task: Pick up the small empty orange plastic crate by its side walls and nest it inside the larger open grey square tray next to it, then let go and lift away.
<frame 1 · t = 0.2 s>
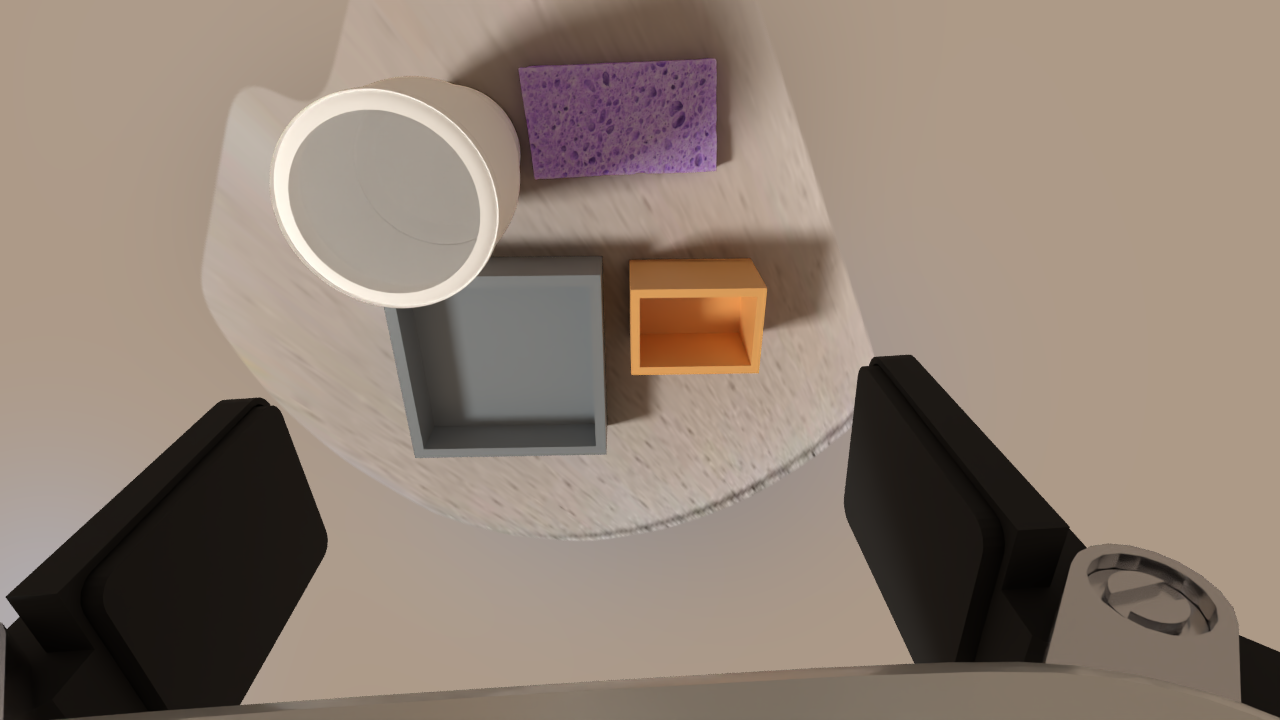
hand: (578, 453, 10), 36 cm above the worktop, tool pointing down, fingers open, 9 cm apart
jar: (458, 150, 43), on the worktop
small crate: (688, 299, 48), on the worktop
grey square tray: (509, 348, 50), on the worktop
sponges: (620, 117, 43), on the worktop
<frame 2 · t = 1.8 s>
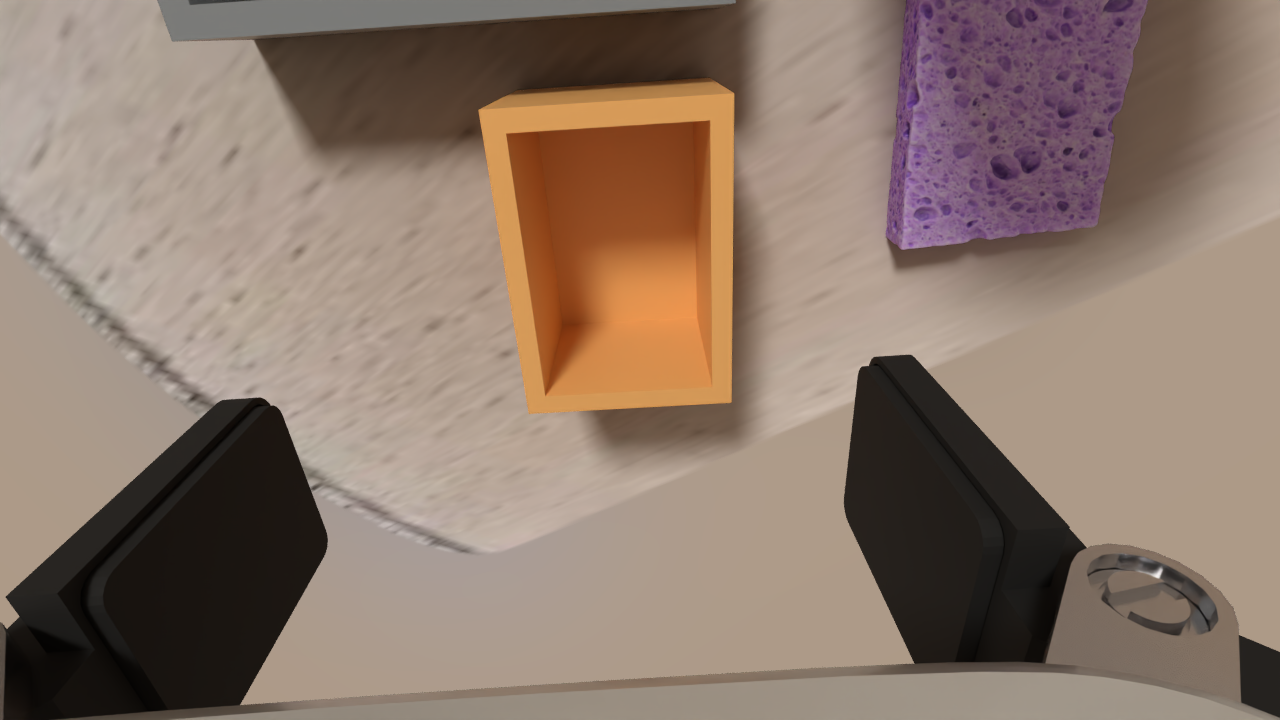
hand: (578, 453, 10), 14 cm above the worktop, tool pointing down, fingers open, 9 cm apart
small crate: (622, 217, 23), on the worktop
sponges: (996, 41, 21), on the worktop
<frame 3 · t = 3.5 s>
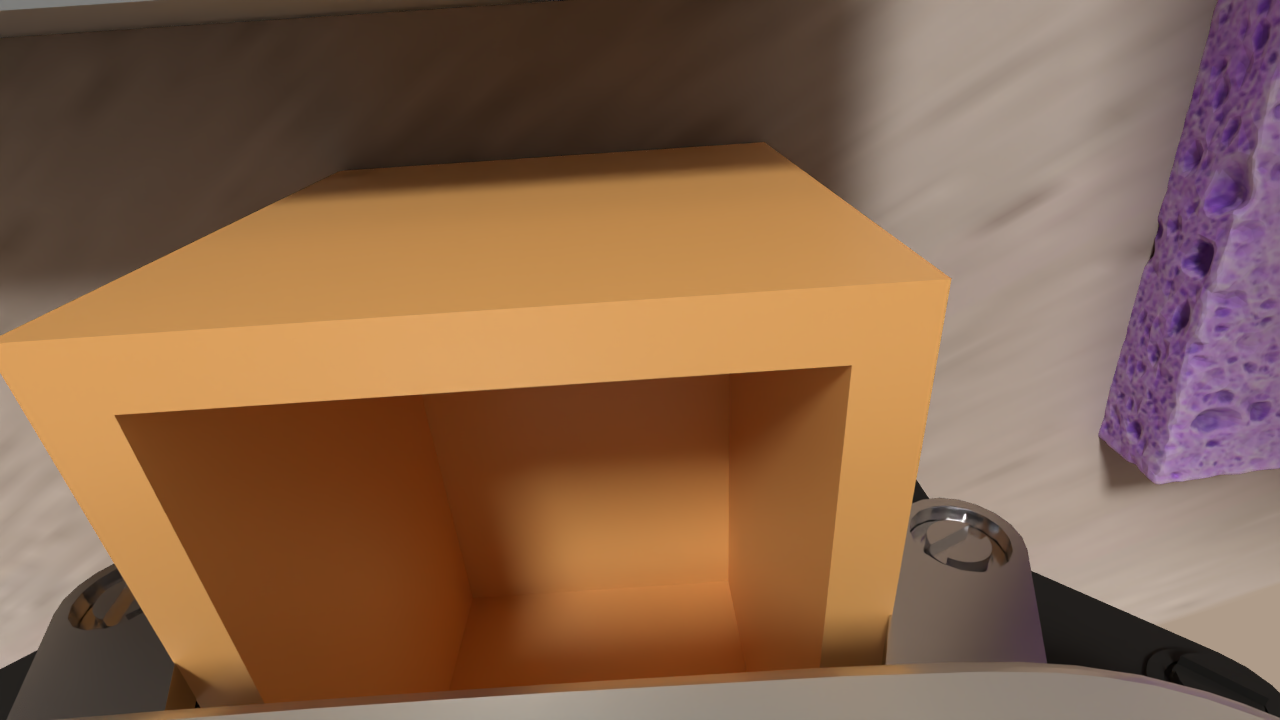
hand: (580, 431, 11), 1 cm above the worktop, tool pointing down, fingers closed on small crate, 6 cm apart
small crate: (582, 410, 12), on the worktop, touching gripper
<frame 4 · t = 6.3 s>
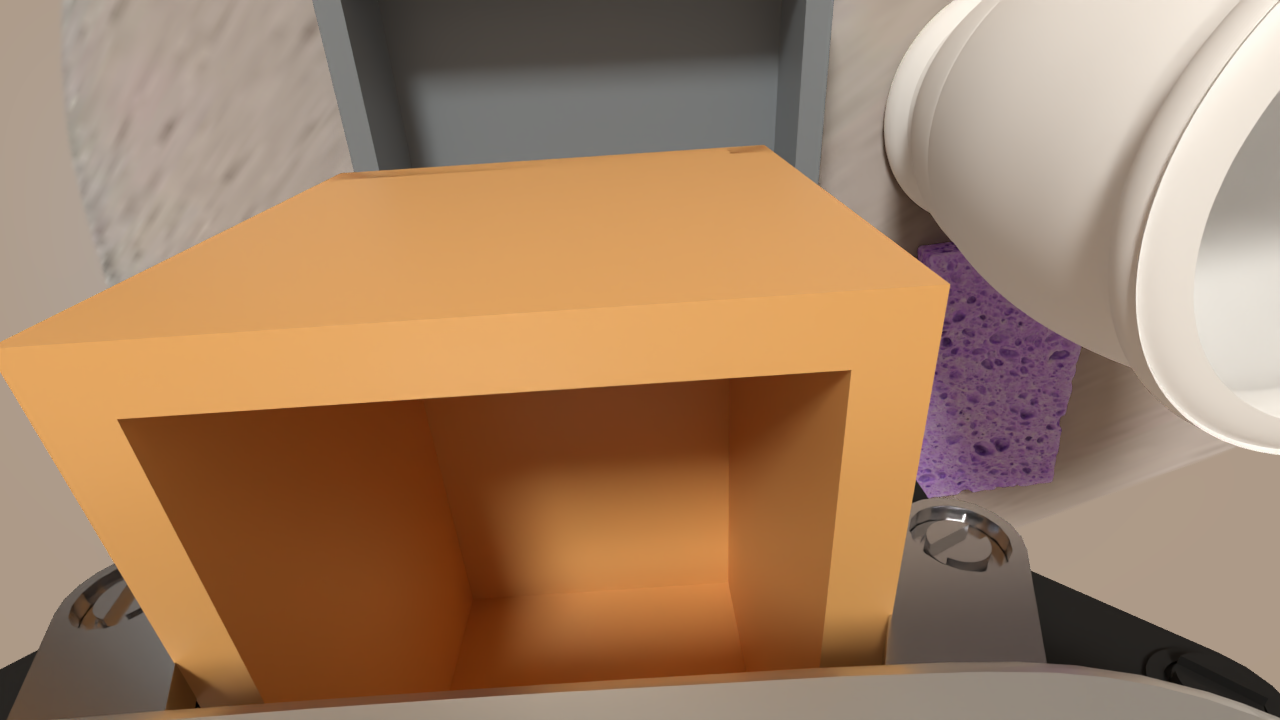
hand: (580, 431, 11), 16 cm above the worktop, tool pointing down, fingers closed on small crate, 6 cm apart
jar: (989, 107, 24), on the worktop
small crate: (582, 412, 12), point 15 cm above the worktop, touching gripper
grey square tray: (596, 182, 24), on the worktop
sponges: (975, 358, 29), on the worktop
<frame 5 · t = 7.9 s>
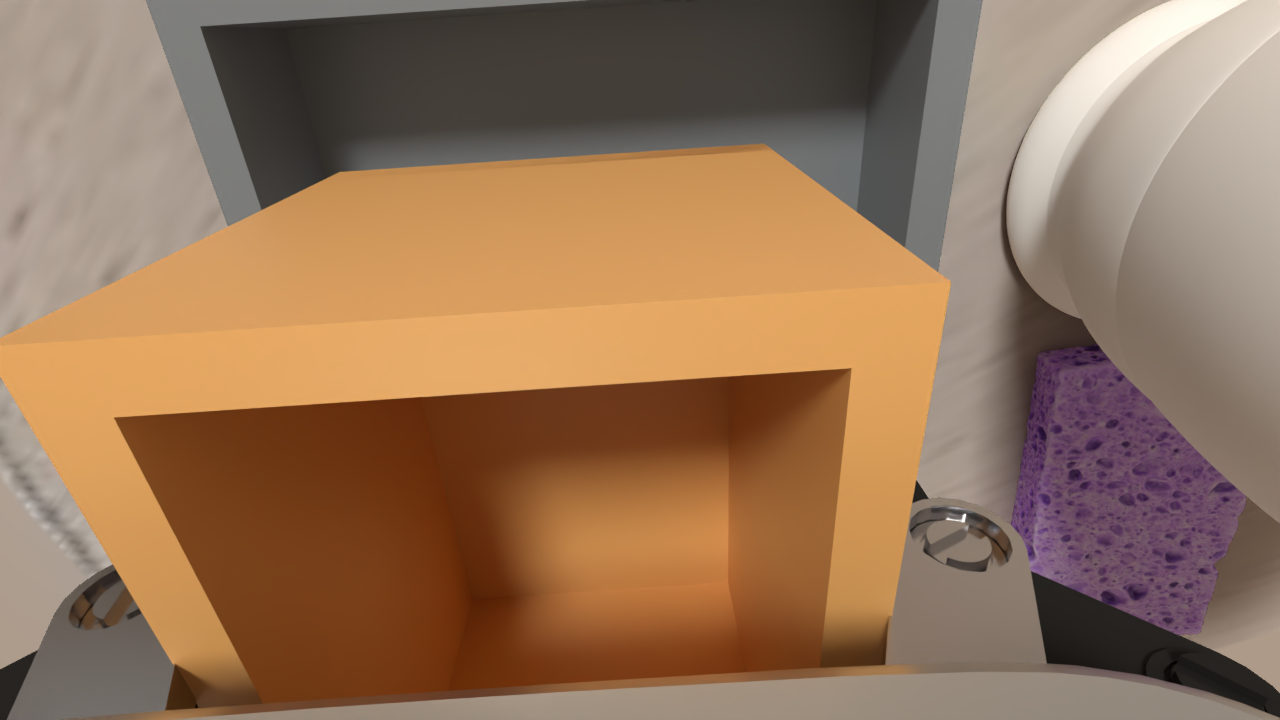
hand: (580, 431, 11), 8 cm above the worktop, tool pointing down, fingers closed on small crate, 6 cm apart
jar: (1152, 170, 17), on the worktop
small crate: (582, 411, 12), point 7 cm above the worktop, touching gripper
grey square tray: (606, 278, 18), on the worktop
sponges: (1100, 480, 23), on the worktop
when the fingers open (3 cm above the worktop, at t = 9.2 s): small crate drops 2 cm, resting on grey square tray.
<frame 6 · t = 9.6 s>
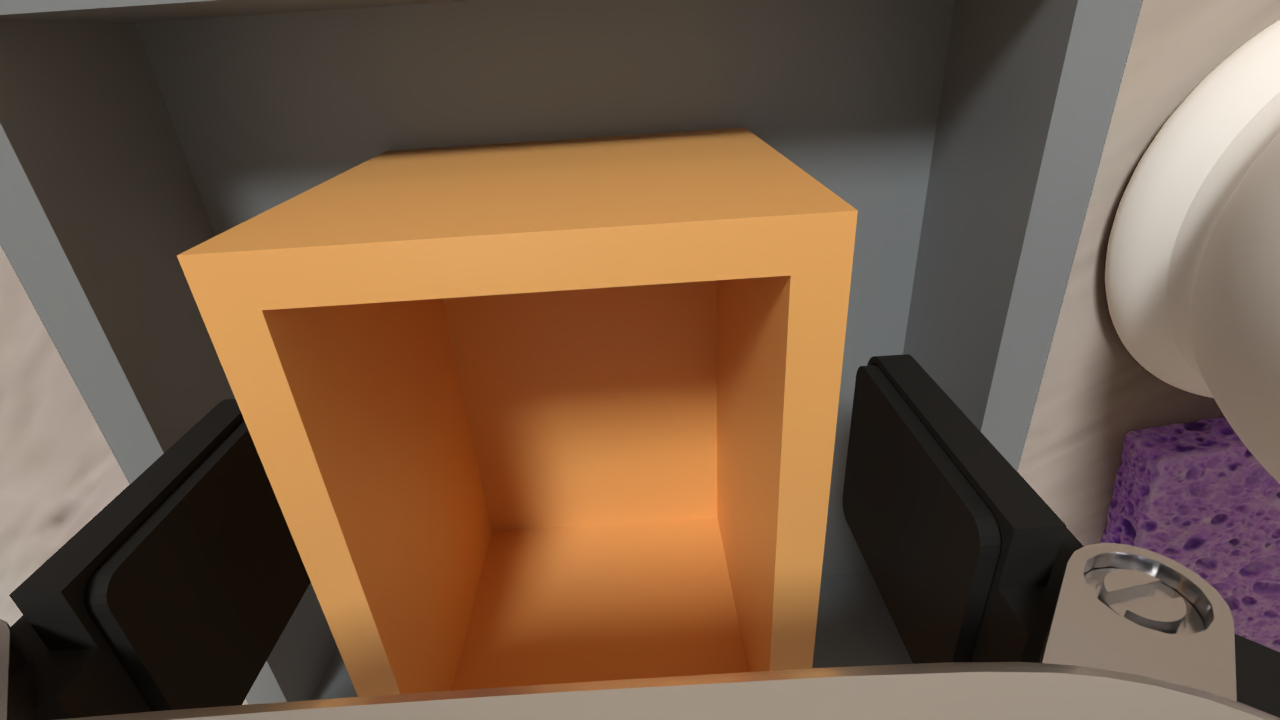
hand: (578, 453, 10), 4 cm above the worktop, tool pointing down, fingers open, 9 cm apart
small crate: (589, 362, 13), point 1 cm above the worktop, touching grey square tray
grey square tray: (589, 344, 14), on the worktop
sponges: (1187, 569, 19), on the worktop
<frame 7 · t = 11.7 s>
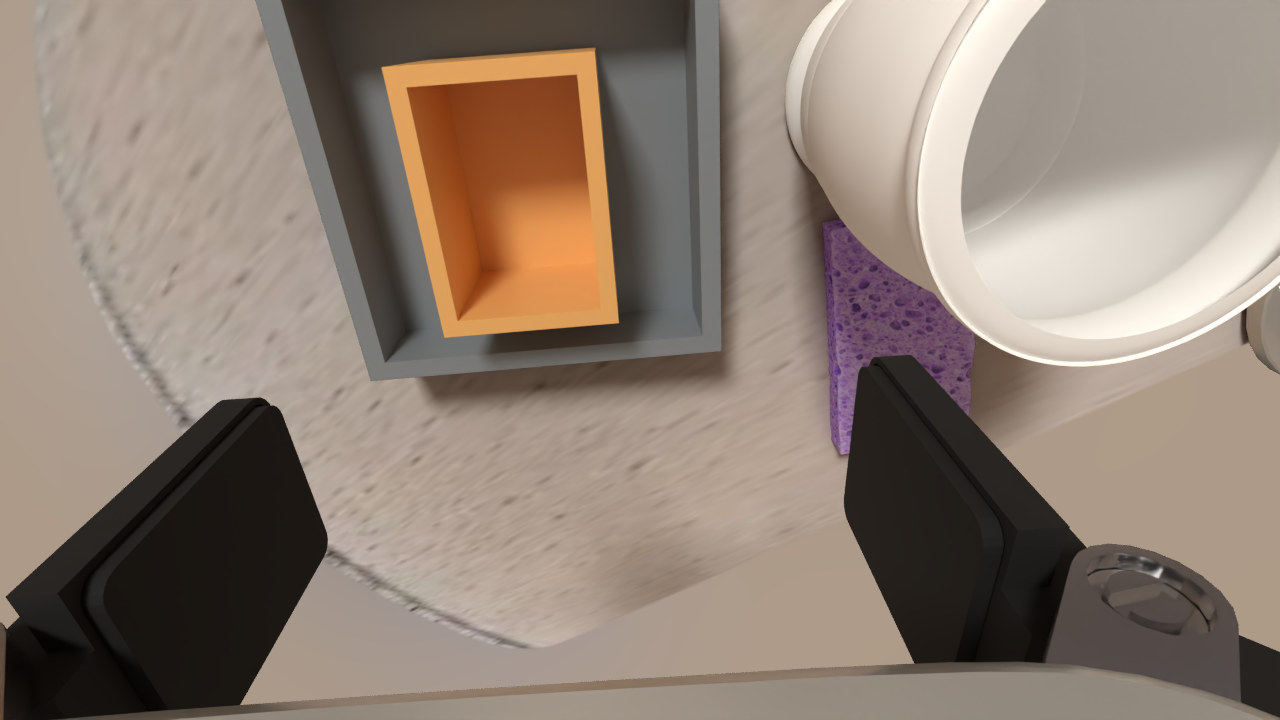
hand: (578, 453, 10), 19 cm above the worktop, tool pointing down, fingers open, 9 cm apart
jar: (879, 90, 27), on the worktop
small crate: (529, 172, 26), point 1 cm above the worktop, touching grey square tray
grey square tray: (530, 168, 27), on the worktop
sponges: (890, 321, 32), on the worktop
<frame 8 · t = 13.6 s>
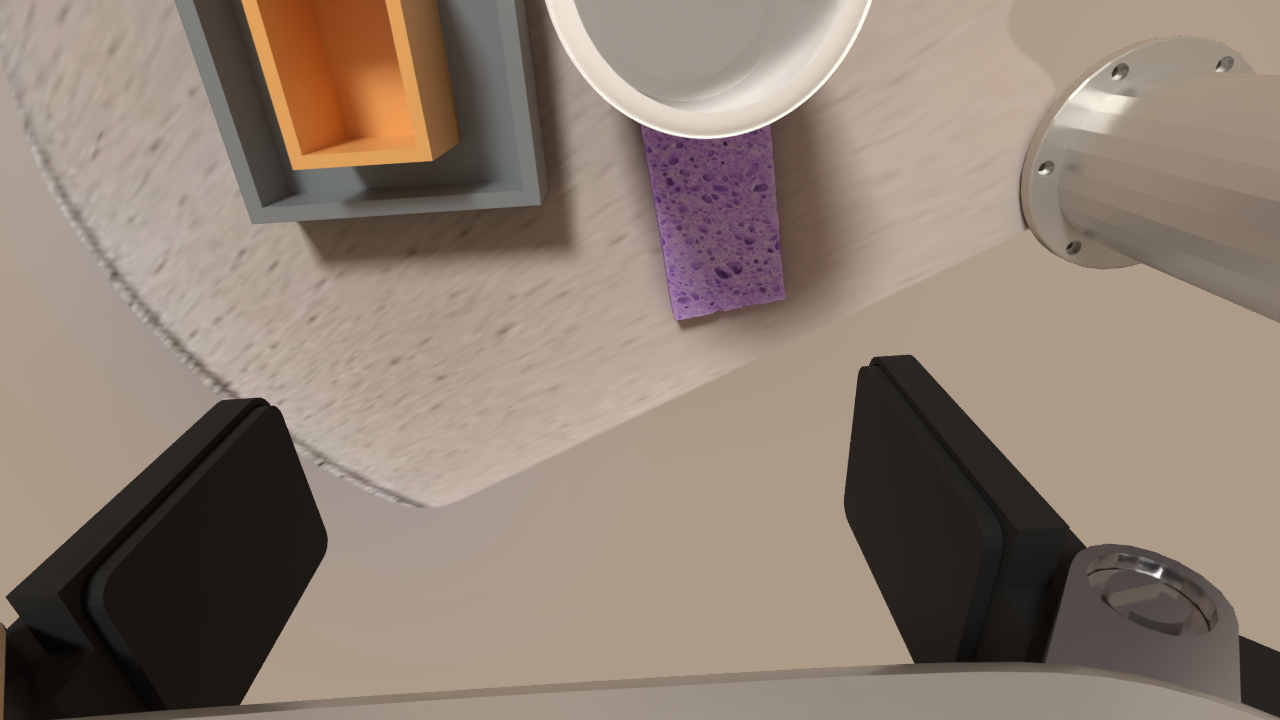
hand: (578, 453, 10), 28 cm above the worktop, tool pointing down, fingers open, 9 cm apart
small crate: (382, 52, 32), point 1 cm above the worktop, touching grey square tray
grey square tray: (386, 51, 33), on the worktop
sponges: (712, 202, 38), on the worktop
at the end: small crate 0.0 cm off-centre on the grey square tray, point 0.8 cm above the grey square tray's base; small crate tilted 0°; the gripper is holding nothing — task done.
